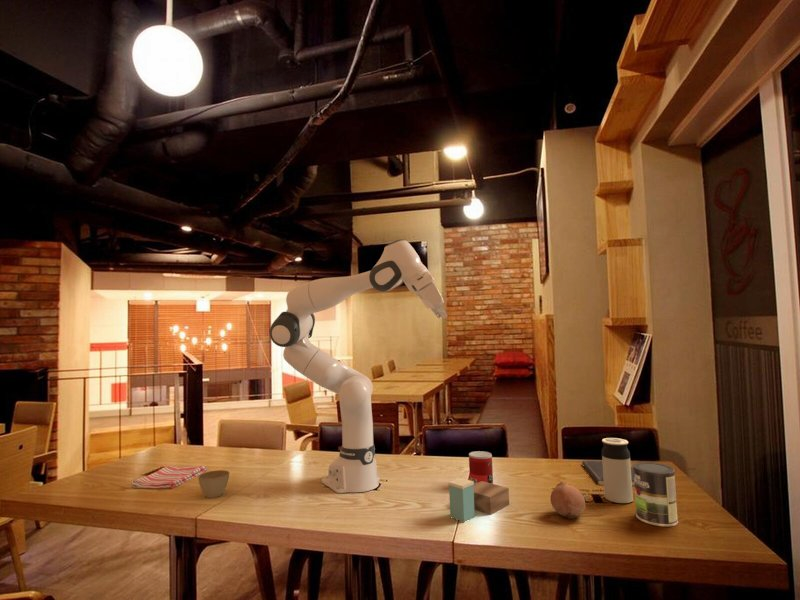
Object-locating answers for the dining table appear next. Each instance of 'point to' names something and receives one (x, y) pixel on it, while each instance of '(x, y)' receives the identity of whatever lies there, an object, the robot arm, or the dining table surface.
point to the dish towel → (168, 477)
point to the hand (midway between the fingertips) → (443, 317)
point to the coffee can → (655, 494)
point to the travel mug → (617, 470)
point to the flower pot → (213, 482)
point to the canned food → (480, 467)
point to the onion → (567, 500)
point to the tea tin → (461, 499)
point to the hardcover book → (599, 471)
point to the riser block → (490, 497)
